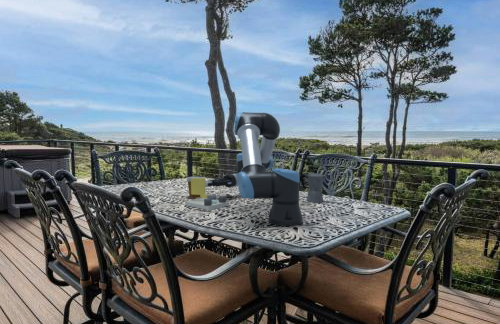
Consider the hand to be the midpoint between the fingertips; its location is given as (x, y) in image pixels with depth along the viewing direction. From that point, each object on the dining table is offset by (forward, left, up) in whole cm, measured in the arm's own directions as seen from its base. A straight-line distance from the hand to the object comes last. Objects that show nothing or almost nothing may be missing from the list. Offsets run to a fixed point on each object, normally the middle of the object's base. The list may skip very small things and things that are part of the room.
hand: (202, 185), depth 194 cm
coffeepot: (-42, -46, -11) cm, 63 cm away
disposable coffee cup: (+18, -10, -11) cm, 23 cm away
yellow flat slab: (-2, 0, -8) cm, 8 cm away
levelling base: (-5, +1, -10) cm, 12 cm away
